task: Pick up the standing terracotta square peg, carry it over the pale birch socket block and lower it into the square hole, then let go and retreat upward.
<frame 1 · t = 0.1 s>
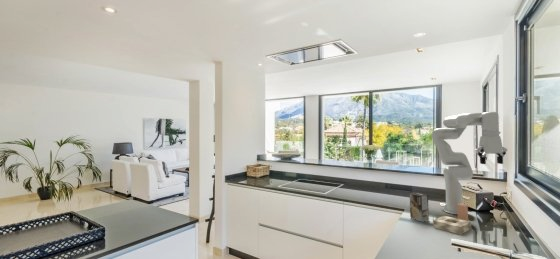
hand: (491, 163, 144), 37 cm above the worktop, tool pointing down, fingers open, 9 cm apart
peg: (463, 222, 155), on the worktop
socket: (452, 227, 147), on the worktop
coffee box: (419, 219, 162), on the worktop
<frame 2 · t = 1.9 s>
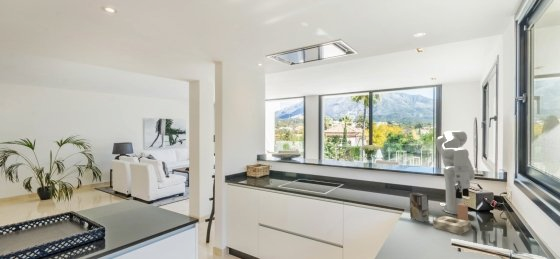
hand: (462, 197, 155), 16 cm above the worktop, tool pointing down, fingers open, 9 cm apart
nothing on the worktop moved.
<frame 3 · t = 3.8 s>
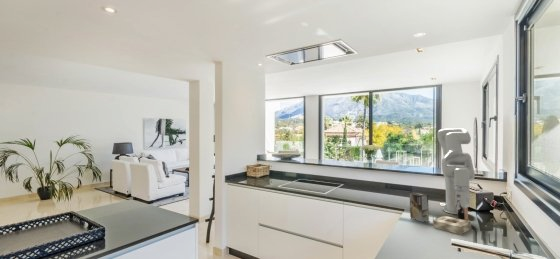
hand: (462, 217, 155), 3 cm above the worktop, tool pointing down, fingers closed on peg, 4 cm apart
peg: (463, 222, 155), on the worktop, touching gripper
everything else where it was.
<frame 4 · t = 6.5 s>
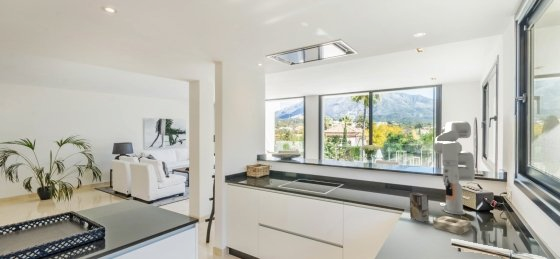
hand: (451, 194, 147), 19 cm above the worktop, tool pointing down, fingers closed on peg, 4 cm apart
peg: (451, 199, 147), point 16 cm above the worktop, touching gripper
everything else where it was.
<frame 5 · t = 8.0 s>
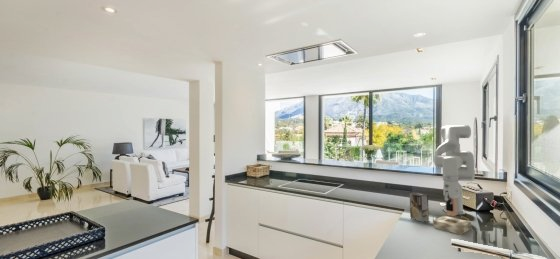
hand: (451, 209, 147), 11 cm above the worktop, tool pointing down, fingers closed on peg, 4 cm apart
peg: (451, 214, 147), point 8 cm above the worktop, touching gripper
everything else where it was.
when the fingers open (5 cm above the worktop, at t = 9.3 s): peg drops 2 cm, resting in socket.
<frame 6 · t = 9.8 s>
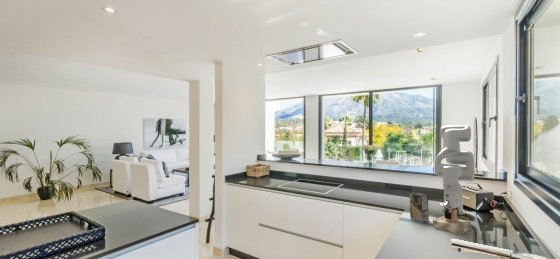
hand: (451, 217, 147), 6 cm above the worktop, tool pointing down, fingers open, 9 cm apart
peg: (452, 227, 147), resting in socket
everything else where it was.
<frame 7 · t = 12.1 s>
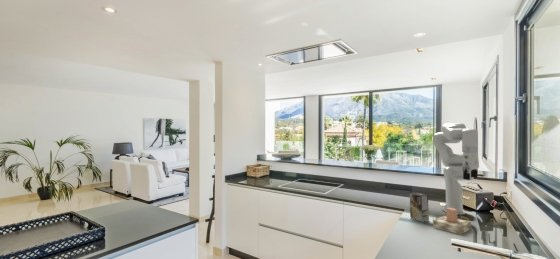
hand: (470, 178, 151), 28 cm above the worktop, tool pointing down, fingers open, 9 cm apart
nothing on the worktop moved.
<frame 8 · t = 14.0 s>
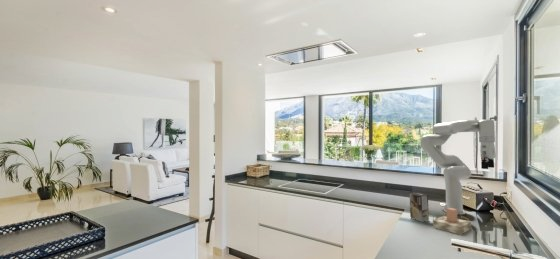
hand: (487, 168, 154), 33 cm above the worktop, tool pointing down, fingers open, 9 cm apart
nothing on the worktop moved.
at the end: peg 0.1 cm off-centre on the socket, point 0.0 cm above the socket's base; peg tilted 0°; the gripper is holding nothing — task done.
